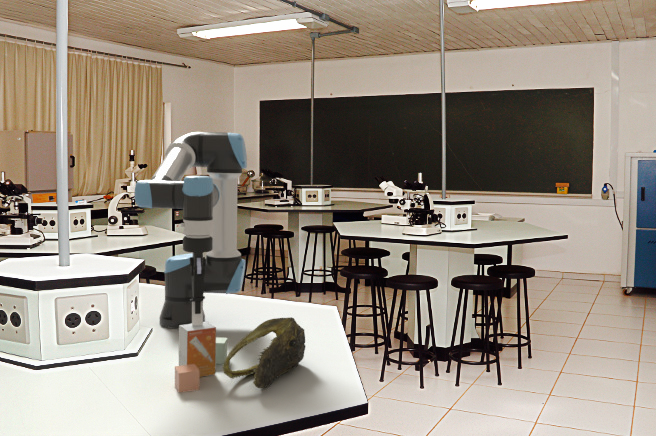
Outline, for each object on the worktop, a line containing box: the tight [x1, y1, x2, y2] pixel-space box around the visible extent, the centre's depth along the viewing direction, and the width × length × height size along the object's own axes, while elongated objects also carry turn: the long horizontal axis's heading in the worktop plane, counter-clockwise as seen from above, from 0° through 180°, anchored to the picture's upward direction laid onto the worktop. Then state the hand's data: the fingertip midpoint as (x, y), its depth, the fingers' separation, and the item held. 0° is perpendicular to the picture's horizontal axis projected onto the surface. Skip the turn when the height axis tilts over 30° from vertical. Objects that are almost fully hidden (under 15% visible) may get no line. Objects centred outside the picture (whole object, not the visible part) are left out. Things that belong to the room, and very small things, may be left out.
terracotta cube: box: [174, 364, 200, 393], centre depth 151 cm, size 5×5×5 cm
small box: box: [178, 321, 217, 378], centre depth 160 cm, size 8×6×13 cm
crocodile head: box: [222, 317, 306, 389], centre depth 160 cm, size 27×17×15 cm
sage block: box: [215, 336, 228, 365], centre depth 170 cm, size 5×5×6 cm
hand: (197, 324), depth 159 cm, fingers closed
